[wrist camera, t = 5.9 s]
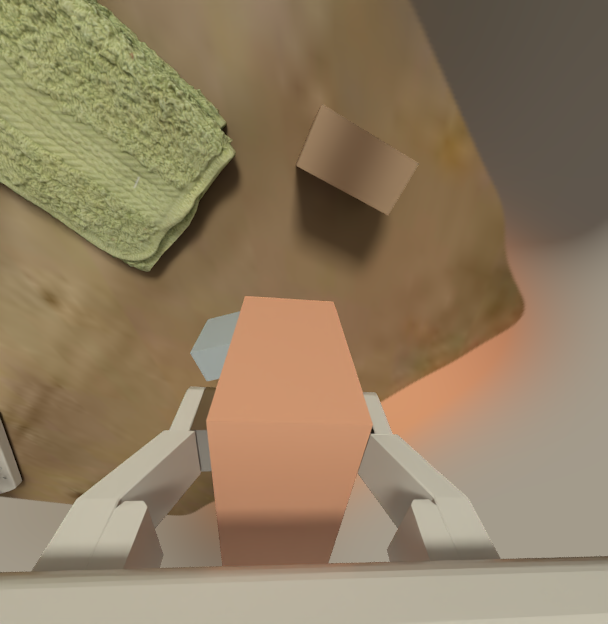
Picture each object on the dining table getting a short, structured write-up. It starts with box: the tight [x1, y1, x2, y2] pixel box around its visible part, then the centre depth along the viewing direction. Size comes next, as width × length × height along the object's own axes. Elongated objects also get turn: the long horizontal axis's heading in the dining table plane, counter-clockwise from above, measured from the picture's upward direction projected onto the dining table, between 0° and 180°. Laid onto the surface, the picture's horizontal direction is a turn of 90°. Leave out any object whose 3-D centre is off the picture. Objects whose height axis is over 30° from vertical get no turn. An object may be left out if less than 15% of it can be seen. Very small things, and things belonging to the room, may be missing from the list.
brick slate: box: [190, 312, 240, 381], centre depth 23 cm, size 6×3×5 cm, turn 104°
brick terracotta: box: [206, 296, 373, 566], centre depth 9 cm, size 6×3×5 cm, turn 174°
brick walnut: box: [296, 104, 419, 215], centre depth 17 cm, size 6×3×5 cm, turn 64°
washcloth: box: [0, 0, 236, 272], centre depth 16 cm, size 13×18×3 cm
